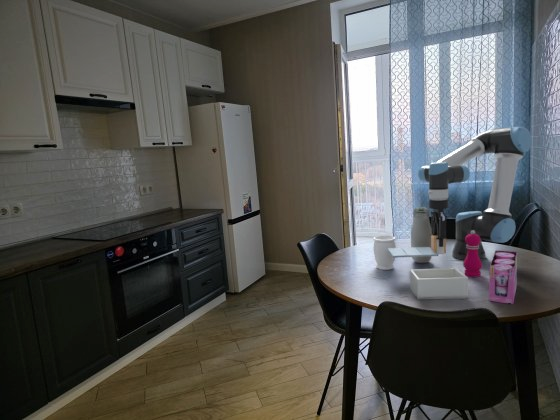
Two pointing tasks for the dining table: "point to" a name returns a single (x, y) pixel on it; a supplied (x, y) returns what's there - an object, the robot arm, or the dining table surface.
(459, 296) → the cabinet body
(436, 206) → the robot arm
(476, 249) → the pepper mill
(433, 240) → the lid
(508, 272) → the gum box
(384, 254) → the jar
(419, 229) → the grey rounded cylinder
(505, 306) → the dining table surface
